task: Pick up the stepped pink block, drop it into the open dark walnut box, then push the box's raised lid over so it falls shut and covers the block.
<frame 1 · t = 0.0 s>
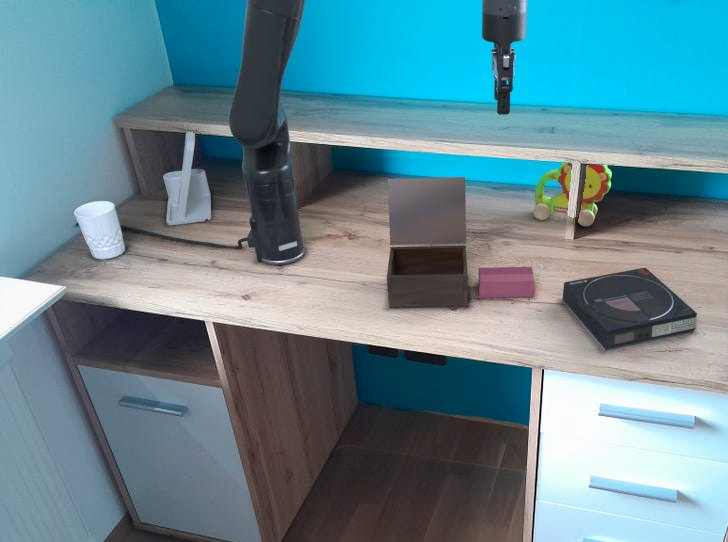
hand: (501, 106, 126), 29 cm above the table, tool pointing down, fingers open, 8 cm apart
box lid: (427, 211, 130), point 13 cm above the table, hinge at 111.8°
stepped pink block: (505, 290, 131), on the table
toy lion: (569, 220, 154), on the table
white cup: (109, 252, 148), on the table
white dustpan scoop: (190, 208, 166), on the table
portable cd player: (625, 318, 122), on the table
walnut box: (428, 291, 131), on the table
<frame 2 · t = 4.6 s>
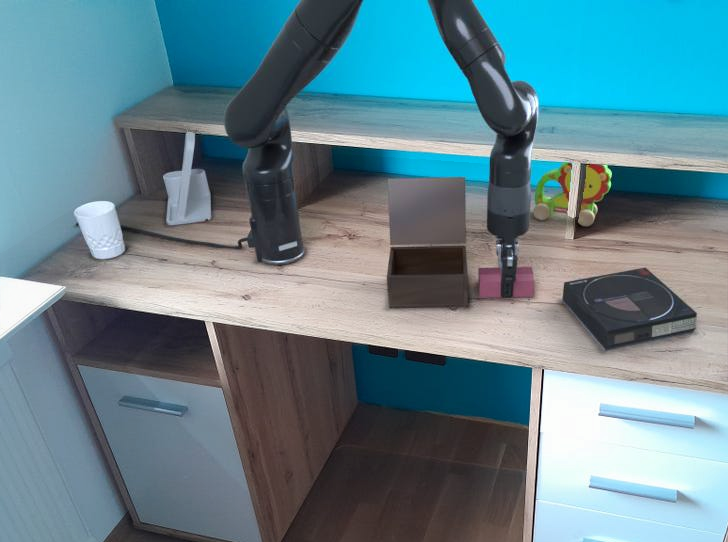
hand: (505, 288, 130), 0 cm above the table, tool pointing down, fingers closed on stepped pink block, 5 cm apart
stepped pink block: (505, 290, 131), on the table, touching gripper
everything else where it was.
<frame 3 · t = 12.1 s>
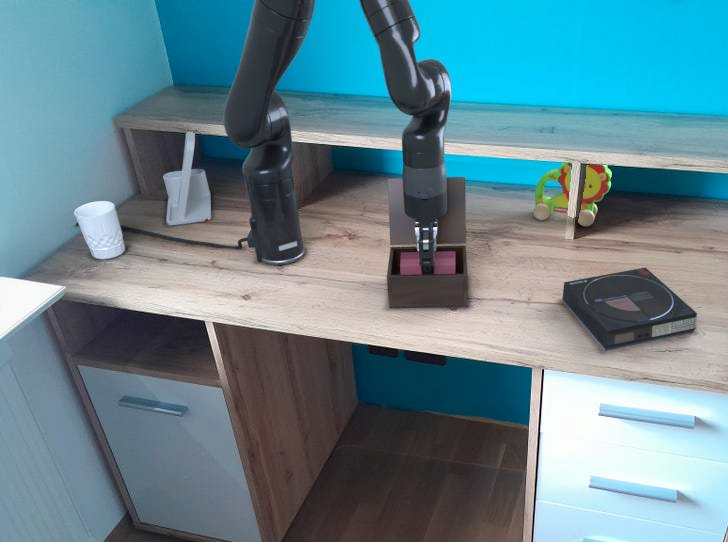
hand: (428, 273, 128), 4 cm above the table, tool pointing down, fingers closed on stepped pink block, 5 cm apart
stepped pink block: (428, 275, 128), point 4 cm above the table, touching gripper
everything else where it was.
when the fingers open (7 cm above the table, at t = 30.9 s): stepped pink block drops 6 cm, resting on walnut box.
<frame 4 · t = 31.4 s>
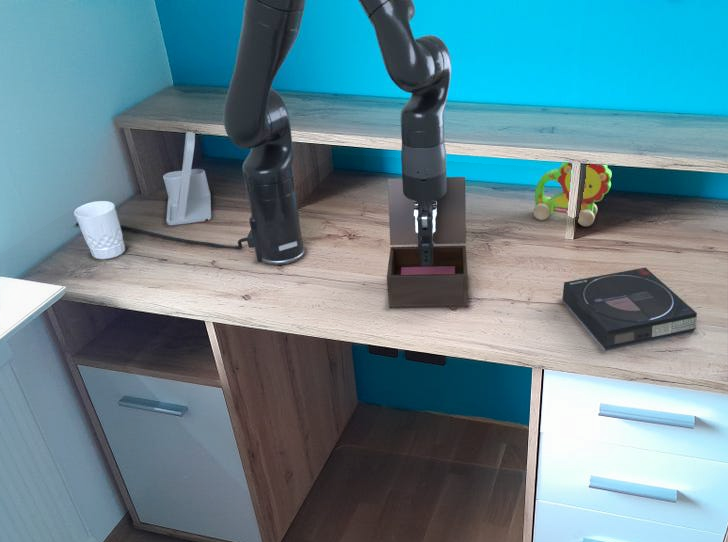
hand: (427, 253, 126), 8 cm above the table, tool pointing down, fingers open, 8 cm apart
stepped pink block: (428, 289, 130), point 1 cm above the table, touching walnut box
everything else where it was.
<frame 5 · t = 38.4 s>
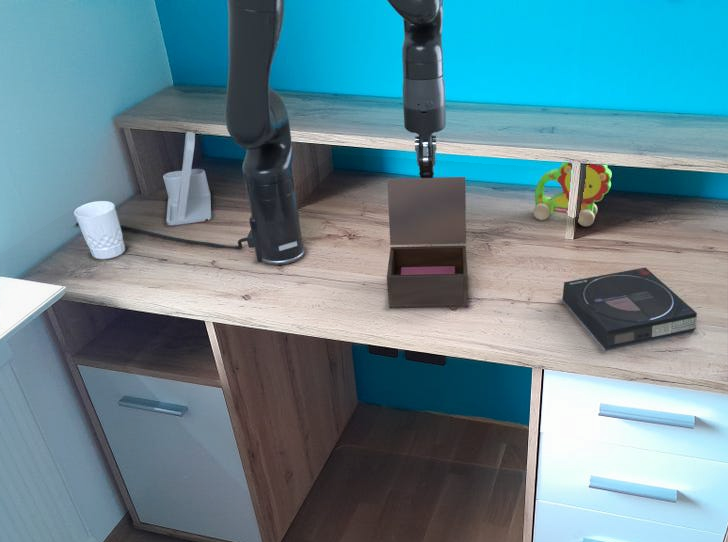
hand: (427, 193, 133), 14 cm above the table, tool pointing down, fingers closed
box lid: (427, 211, 129), point 13 cm above the table, hinge at 108.9°, touching gripper
everything else where it was.
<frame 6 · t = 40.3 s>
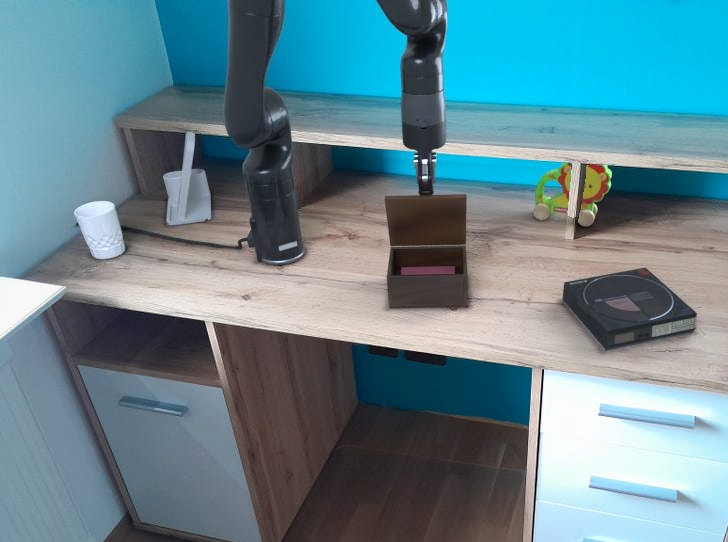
hand: (427, 212, 127), 14 cm above the table, tool pointing down, fingers closed
box lid: (426, 221, 126), point 13 cm above the table, hinge at 69.5°, touching hand
everything else where it was.
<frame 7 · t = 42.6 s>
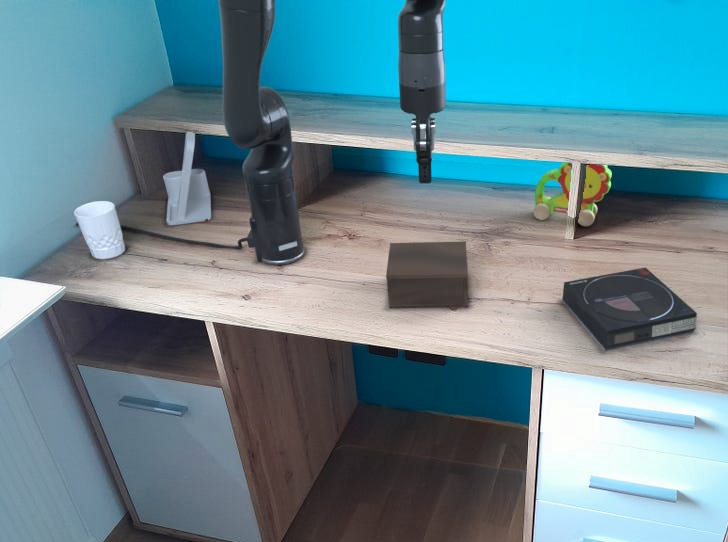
hand: (425, 181, 121), 21 cm above the table, tool pointing down, fingers closed
box lid: (427, 259, 126), point 7 cm above the table, hinge at -0.2°
everything else where it was.
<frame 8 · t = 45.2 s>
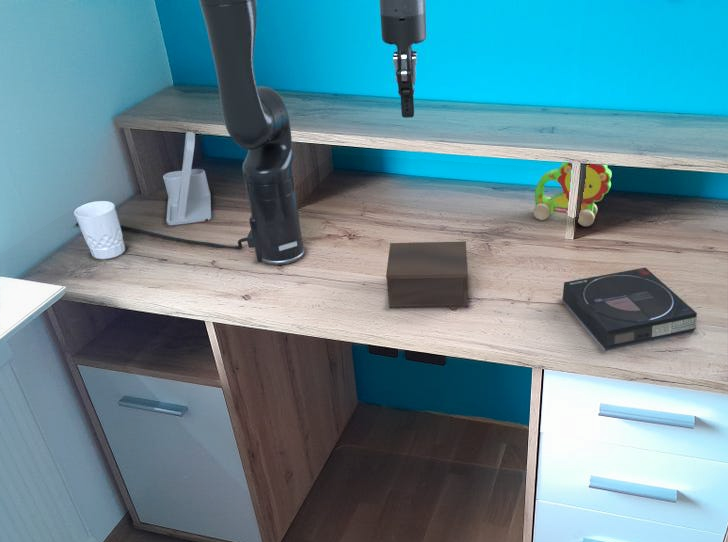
hand: (408, 116, 124), 29 cm above the table, tool pointing down, fingers closed
nothing on the table moved.
at the end: stepped pink block inside the target area in the walnut box (0.5 cm from its centre), point 0.7 cm above the walnut box's base; box lid at +0° (first picture: +112°); the gripper is holding nothing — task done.
